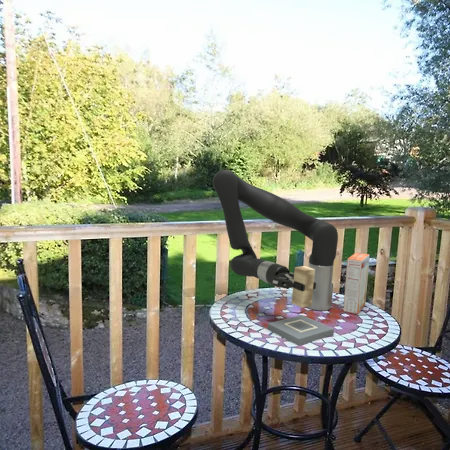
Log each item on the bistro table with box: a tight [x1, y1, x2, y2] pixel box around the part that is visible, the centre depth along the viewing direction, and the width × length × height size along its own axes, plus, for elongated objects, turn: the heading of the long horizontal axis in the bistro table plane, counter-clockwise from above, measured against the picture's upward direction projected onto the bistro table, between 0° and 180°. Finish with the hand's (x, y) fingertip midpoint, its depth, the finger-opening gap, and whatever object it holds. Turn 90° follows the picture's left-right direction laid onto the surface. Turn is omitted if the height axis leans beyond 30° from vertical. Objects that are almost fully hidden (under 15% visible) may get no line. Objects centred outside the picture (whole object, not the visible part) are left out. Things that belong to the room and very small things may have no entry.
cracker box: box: [342, 252, 370, 315], centre depth 156 cm, size 14×6×21 cm, turn 150°
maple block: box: [291, 265, 315, 309], centre depth 129 cm, size 4×4×12 cm
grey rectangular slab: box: [267, 314, 335, 346], centre depth 131 cm, size 16×14×2 cm
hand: (309, 287), depth 127 cm, fingers closed on maple block, 4 cm apart
